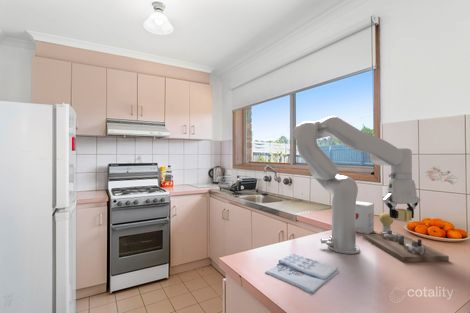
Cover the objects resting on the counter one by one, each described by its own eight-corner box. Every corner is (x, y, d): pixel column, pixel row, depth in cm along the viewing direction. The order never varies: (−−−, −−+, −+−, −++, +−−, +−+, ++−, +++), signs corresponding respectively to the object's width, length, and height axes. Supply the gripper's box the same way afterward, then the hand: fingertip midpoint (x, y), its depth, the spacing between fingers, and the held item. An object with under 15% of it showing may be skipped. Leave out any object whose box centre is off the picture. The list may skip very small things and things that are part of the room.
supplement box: (349, 230, 130) (349, 202, 130) (356, 227, 136) (356, 200, 136) (368, 234, 123) (368, 205, 123) (374, 230, 129) (374, 203, 129)
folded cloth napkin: (340, 273, 84) (340, 267, 84) (311, 297, 70) (311, 289, 70) (292, 256, 98) (292, 251, 98) (261, 273, 84) (261, 267, 84)
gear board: (402, 262, 91) (402, 245, 91) (363, 238, 117) (363, 225, 117) (448, 261, 92) (448, 244, 92) (399, 238, 118) (399, 224, 118)
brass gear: (399, 221, 101) (399, 212, 101) (388, 217, 108) (388, 208, 108) (415, 221, 101) (415, 211, 101) (403, 216, 108) (403, 208, 108)
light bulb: (395, 233, 124) (395, 214, 124) (382, 233, 125) (382, 213, 125) (390, 230, 130) (390, 211, 130) (377, 229, 132) (377, 211, 132)
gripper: (387, 177, 100) (387, 220, 101) (427, 177, 101) (428, 219, 101) (376, 176, 108) (376, 215, 108) (414, 175, 109) (414, 215, 109)
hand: (401, 217), depth 105 cm, fingers closed on brass gear, 7 cm apart
